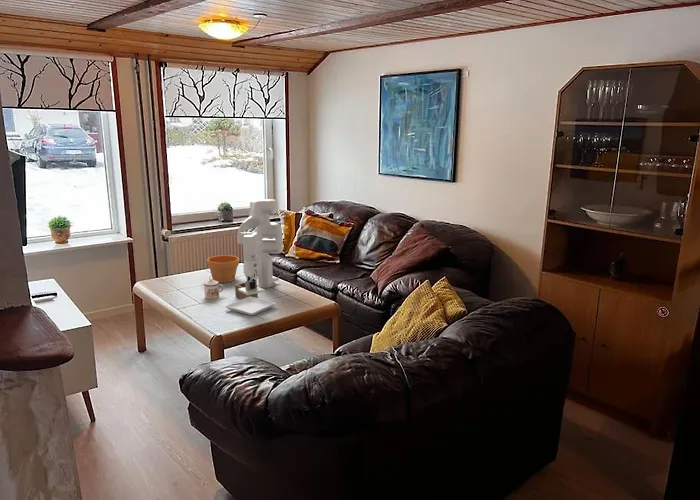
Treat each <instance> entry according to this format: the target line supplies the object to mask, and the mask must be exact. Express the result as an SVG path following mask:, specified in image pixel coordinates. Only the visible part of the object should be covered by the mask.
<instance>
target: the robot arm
mask: <svg viewBox="0 0 700 500" xmlns="http://www.w3.org/2000/svg"><path fill="white" fill-rule="evenodd" d="M249 206H250V207H249V213H248V218H246V219H245V220H244V221H243V222H242V223H241V224H240V225H239V227H238V230H237V235H236V240H237V244H239V246H241V245H242V247H243V248H242V249H243V250H242V252H243V253H242V254H243V274H244V276H245V277H246V280H245V281H249V280H251V282H250V289H254V288H256V286H255V282H256V280H257V285H258V287H260V288H262V289H265V288H266V289H267V288H272V287H274V286H276V283H275V282H277V281H280V279H279V277H273V259H272V257H271V255H270V254H281V253H282V252H283V249H284V248H283V246H284V245H283V244H284V243H283V242H284V241H283V228H282V225H281V224H280V223H277V222H271V218H270V215H274V214H276V213H277V212H278V210H279V203H278V201H277V200H276V199H263V198H262V199H252V200H251V201H250V202H249ZM254 228H256V231H248V230H251V229H254Z"/></svg>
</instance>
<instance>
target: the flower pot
mask: <svg viewBox="0 0 700 500" xmlns="http://www.w3.org/2000/svg"><path fill="white" fill-rule="evenodd" d="M206 260H207V261H206V263H207V266H208V268H209V270H210V273H211V274H210V275H211V279H213V280H215V281H218V282H219V283H229V282H233V281H235V278H236V274H237V271H238V270H237V269H238V266H240V265H239V263H240V258H239V257H238V256H236V255H227V254H226V255H225V254H224V255H215V256H210V257H208V258H207V259H206Z"/></svg>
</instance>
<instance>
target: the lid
mask: <svg viewBox="0 0 700 500" xmlns="http://www.w3.org/2000/svg"><path fill="white" fill-rule="evenodd" d="M250 282H251V280H249V281H247V280H245V287H244V288H239V289H238V291H240V292H242V293H244V294H246V295H252V294H256V293H258V294H260V293H264V292H266V290H265V288H260V287H258V286H257V282H258V279H257V280H256V282H255V286H256V288H254V289H250Z"/></svg>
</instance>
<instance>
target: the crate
mask: <svg viewBox="0 0 700 500" xmlns="http://www.w3.org/2000/svg"><path fill="white" fill-rule="evenodd" d="M257 286H258V285H257ZM244 287H245V282H241V283H235V284H234V292H235V298H238V299H239V300H242V299H244V298H247V297H250V296H251V297H255V298H259V293H256V294H252V295H246V294H244V293H242V292H240V291H238V289H239V288H244Z"/></svg>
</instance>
